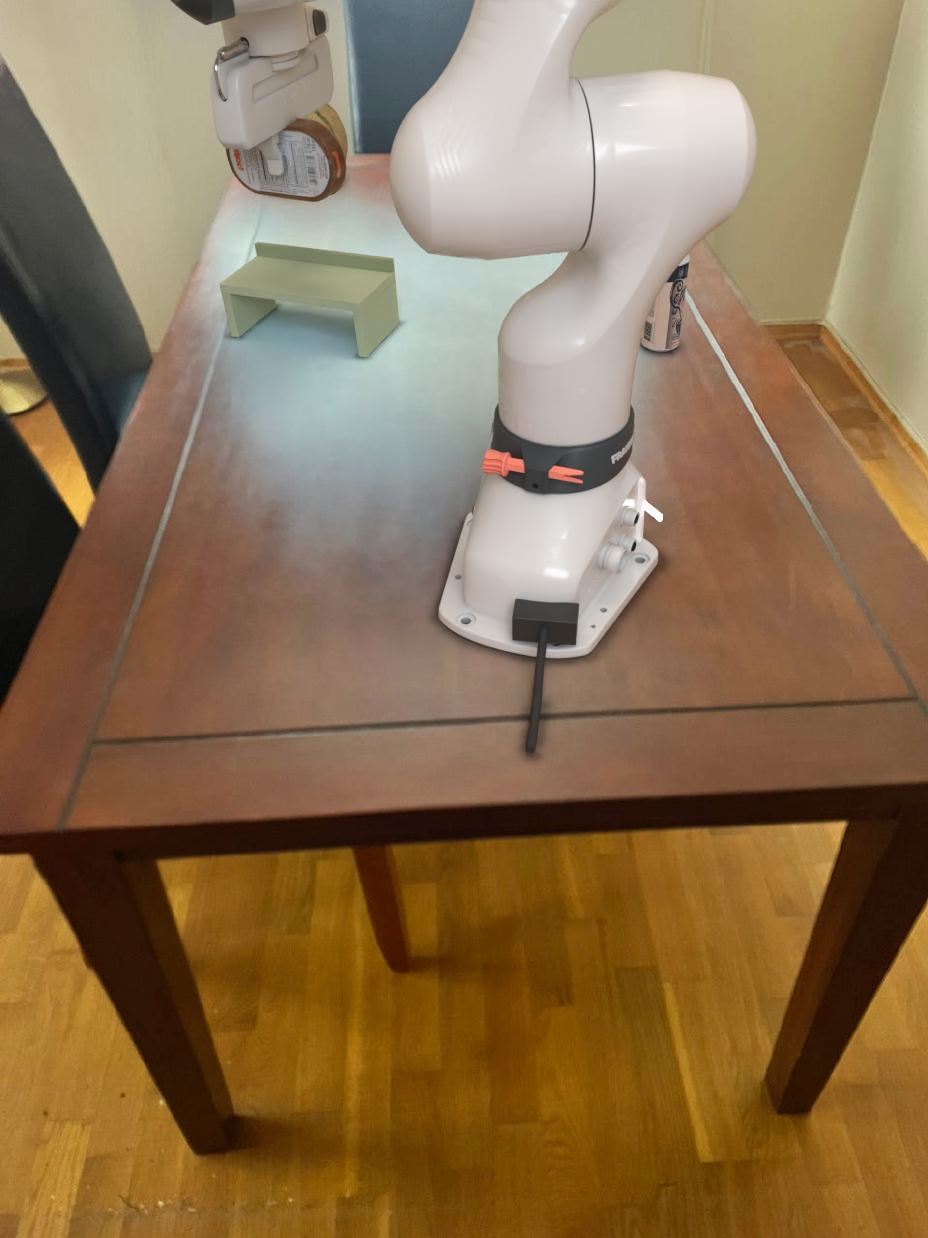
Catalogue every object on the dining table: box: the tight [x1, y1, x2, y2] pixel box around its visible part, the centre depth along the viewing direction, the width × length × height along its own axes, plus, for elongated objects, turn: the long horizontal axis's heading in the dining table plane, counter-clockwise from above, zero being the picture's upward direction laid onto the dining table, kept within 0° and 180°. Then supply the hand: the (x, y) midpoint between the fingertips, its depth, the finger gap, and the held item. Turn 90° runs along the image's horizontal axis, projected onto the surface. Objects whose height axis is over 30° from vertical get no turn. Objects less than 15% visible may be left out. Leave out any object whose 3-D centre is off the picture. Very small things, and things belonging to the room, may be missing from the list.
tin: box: [225, 118, 347, 203], centre depth 106 cm, size 15×3×8 cm, turn 65°
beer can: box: [640, 252, 691, 353], centre depth 112 cm, size 5×5×12 cm
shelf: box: [219, 241, 400, 359], centre depth 120 cm, size 10×20×9 cm, turn 68°
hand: (287, 167), depth 107 cm, fingers closed on tin, 2 cm apart
